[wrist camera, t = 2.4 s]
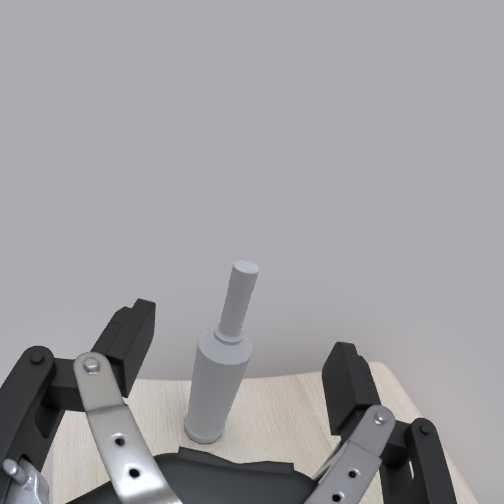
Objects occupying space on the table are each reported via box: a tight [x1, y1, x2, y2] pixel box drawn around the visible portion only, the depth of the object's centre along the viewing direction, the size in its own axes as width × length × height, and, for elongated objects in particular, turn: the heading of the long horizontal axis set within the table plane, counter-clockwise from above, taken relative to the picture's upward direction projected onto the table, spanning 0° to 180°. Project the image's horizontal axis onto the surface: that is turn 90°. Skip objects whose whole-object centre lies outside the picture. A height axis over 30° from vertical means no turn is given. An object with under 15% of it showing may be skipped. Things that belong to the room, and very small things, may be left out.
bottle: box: [184, 260, 259, 444], centre depth 29 cm, size 5×5×25 cm
